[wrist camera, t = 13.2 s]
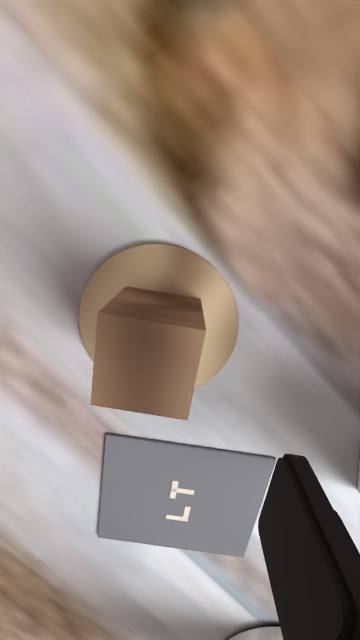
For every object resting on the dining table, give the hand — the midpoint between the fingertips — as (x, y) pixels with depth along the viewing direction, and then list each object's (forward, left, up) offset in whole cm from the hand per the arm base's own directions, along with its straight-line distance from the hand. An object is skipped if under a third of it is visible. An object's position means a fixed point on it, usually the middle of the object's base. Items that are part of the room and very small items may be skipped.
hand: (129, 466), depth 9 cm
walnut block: (0, -1, -11) cm, 11 cm away
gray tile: (-4, +15, -11) cm, 19 cm away
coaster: (0, -1, -11) cm, 11 cm away
